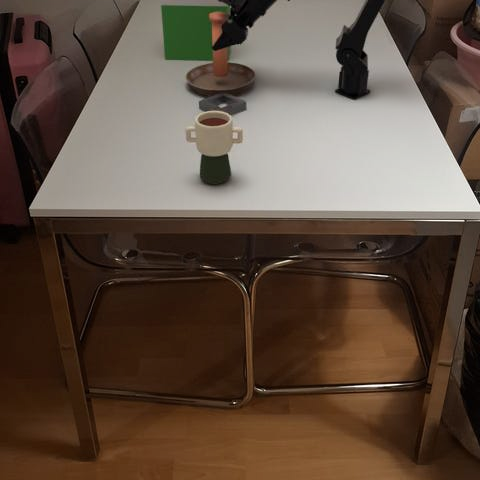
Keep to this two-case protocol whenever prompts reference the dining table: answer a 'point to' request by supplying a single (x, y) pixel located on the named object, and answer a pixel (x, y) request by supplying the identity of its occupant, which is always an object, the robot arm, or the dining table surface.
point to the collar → (232, 101)
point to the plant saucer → (220, 79)
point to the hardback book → (190, 29)
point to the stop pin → (220, 55)
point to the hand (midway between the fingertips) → (216, 42)
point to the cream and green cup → (214, 144)
